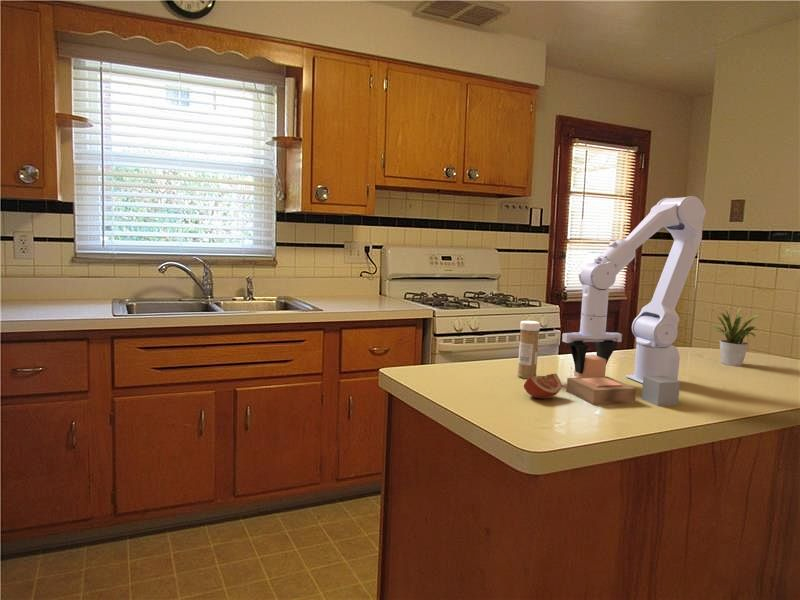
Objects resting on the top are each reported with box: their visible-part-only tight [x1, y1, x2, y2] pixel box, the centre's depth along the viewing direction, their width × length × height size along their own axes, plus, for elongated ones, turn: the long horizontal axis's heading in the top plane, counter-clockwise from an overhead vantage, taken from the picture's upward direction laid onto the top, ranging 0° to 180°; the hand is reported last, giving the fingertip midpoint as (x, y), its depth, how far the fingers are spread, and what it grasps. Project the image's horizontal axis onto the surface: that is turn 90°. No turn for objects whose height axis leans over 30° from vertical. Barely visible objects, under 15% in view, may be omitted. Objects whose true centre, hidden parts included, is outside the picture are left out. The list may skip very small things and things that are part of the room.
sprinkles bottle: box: [517, 320, 541, 380], centre depth 140 cm, size 5×5×14 cm
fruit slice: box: [523, 373, 563, 399], centre depth 123 cm, size 8×7×5 cm
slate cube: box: [641, 376, 681, 407], centre depth 123 cm, size 5×5×5 cm
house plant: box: [706, 306, 761, 367], centre depth 165 cm, size 14×14×16 cm
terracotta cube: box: [573, 354, 607, 378], centre depth 138 cm, size 5×5×5 cm
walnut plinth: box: [566, 375, 637, 406], centre depth 125 cm, size 10×10×4 cm
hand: (589, 372), depth 138 cm, fingers closed on terracotta cube, 5 cm apart
